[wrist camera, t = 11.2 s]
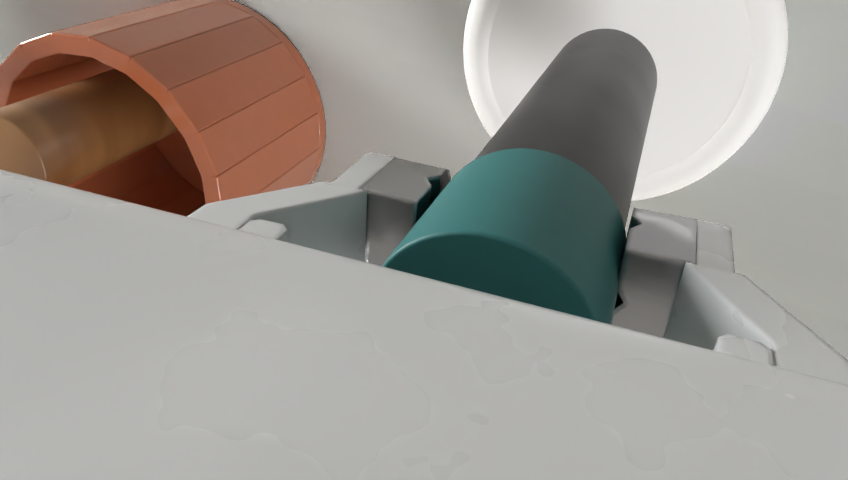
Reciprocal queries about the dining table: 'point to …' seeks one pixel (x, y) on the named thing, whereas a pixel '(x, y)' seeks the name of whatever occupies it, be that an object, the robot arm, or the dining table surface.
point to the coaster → (674, 59)
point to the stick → (80, 128)
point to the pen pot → (190, 100)
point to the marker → (548, 187)
